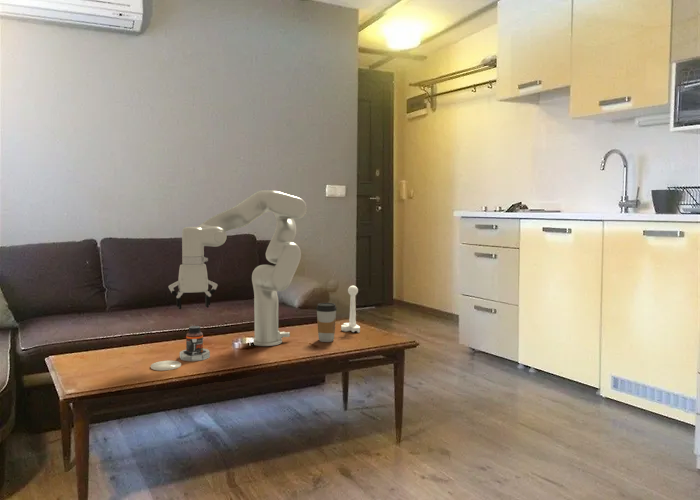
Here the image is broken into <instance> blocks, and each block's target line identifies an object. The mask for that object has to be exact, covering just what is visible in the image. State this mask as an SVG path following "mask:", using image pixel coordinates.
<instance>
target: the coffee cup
mask: <svg viewBox="0 0 700 500" xmlns="http://www.w3.org/2000/svg"><path fill="white" fill-rule="evenodd" d="M336 315H337V306H336V303H334V302H320V303H317V306H316V316H317V317H316V320H317V321H316V322H317V335H318V340H319V342H322V343H330V342H333V341H334V339H335V333H336V321H337V320H336Z"/></svg>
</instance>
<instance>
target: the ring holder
mask: <svg viewBox="0 0 700 500" xmlns="http://www.w3.org/2000/svg"><path fill="white" fill-rule="evenodd" d="M209 358H211V352H210V349H208V348H203V353H202V354H199V353H194V355H188V354H186V349H183V350H181V351H179V359H180V361H185V362H198V361H205V360H206V359H209Z"/></svg>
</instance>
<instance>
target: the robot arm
mask: <svg viewBox="0 0 700 500" xmlns="http://www.w3.org/2000/svg"><path fill="white" fill-rule="evenodd" d="M307 209H308V208H307V203H306V201H304V199H303V198H300V197H298V196H295V195H291V194H288V193H284V192H282V191H278V190H272V189H271V190H270V189H269V190H267V189H266V190H263V189H262V190H259V191H256V192H255V193H253V194H252V195H250V196H248V197H247V198H245V199H244V200H243V201H241V202H240V203H238V204H237V205H235V206H234V207H231V208H229V209H227V210H225V211H222V212H220V213H218V214H216V215H213V216H212V217H210V218H208V219H207V220H205V221H204V222H202V223H201V224H199V225H198V226H185V227H184V228H182V231H181V235H182V236H181V242H182V243H181V246H182V247H181V249H182V251H181V253H182V254H181V255H182V256H181V257H182V259H181V260H182V262H181V263H182V264H180V265H179V270H178V280H177V281H175V282H173V283H171V284H169V285H168V289H169V291H170V293H171V294H172V295H173V296H174V297H175V298H176V307H178V309H179V310H181V309H182V297H181V296H183V294H185V293H187V294H188V293H191V294H192V293H205V297H204V302H205V303H204V306H205V308H210V307H209V306H210V305H211V297H212V295H213V294H214V293H215V292H216V290H217V288H218V286H219V285H218V283H216V282H213V281H211V280H209V278H208V270H207V265H206V264H205V262H206V263H207V262H208V261H209V257H206V256H204V255H205V251H204V250H205V247H215V248H216V247H220V246H222V245H224V244H225V242H226V240H227V236H228V235H227V232H228V231H231V230H235V229H240V228H243V227H246V226H249V225H250V224H251V223H252V222H254V221H255V220H257V219H259V218H260V217H261V216H262V215H264V214H265V213H273V216H274V218H275V223H276V226H275V230H274V233H273V235H272V236H271V239H270V241H269V243H268V245H267V247H266V251H265V259H266V260H267V261H268V262H269V263H271V264H274V265H271V264H260V265H257V266H256V267H255V268H254V270H253V271H252V274H251V283H252V288H253V295H254V296H253V297H254V298H253V300H254V301H253V303H254V304H253V305H254V307H253V308H254V309H253V310H254V311H253V312H254V314H253V315H254V318H253V320H254V326H253V327H254V337H252V339H254V342H253V343H254V346H256V347H257V346H258V347H272V346H278V345H280V344H282V343H283V338H289V337H291V332H290V331H287V332H286V331H280V330H279V296H278V292H283V291H285V290H286V289H287V288H289V287H290V284H291V283H292V280H293V278H294V277H295V273H296V271H297V269H298V267H299V264H300V262H301V258H302V251H301V248H300V246H299V245H298V244H297V243H295V242H294V241H295V237H296V235H297V225H296V224H297V223H296V221H295V220H298V219H301V218H302V219H303V217H304V216H305V215H306V213H307V211H308V210H307ZM209 285H210V286H212V288H211V289H210V290H209ZM176 287H177V288H178V291H177V292H176V291H175V289H174V288H176ZM208 290H209V291H208Z"/></svg>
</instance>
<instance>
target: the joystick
mask: <svg viewBox="0 0 700 500" xmlns="http://www.w3.org/2000/svg"><path fill="white" fill-rule="evenodd" d="M347 293H348V294H349V296H350V297H349V298H350V299H349V300H350V301H349V302H350V303H349V322H343V324H341V325H340V326H341V327H340V329H341V331H342V332H350V331H351V333H355V332H356V333H360V332H361V326H360V325H359V324H357V314H356V313H357V312H356V311H357V310H356V309H357V306H356V296H357V295H358V293H359V288H358V287H357V286H356V285H350V286H349V287H348V288H347Z"/></svg>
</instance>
